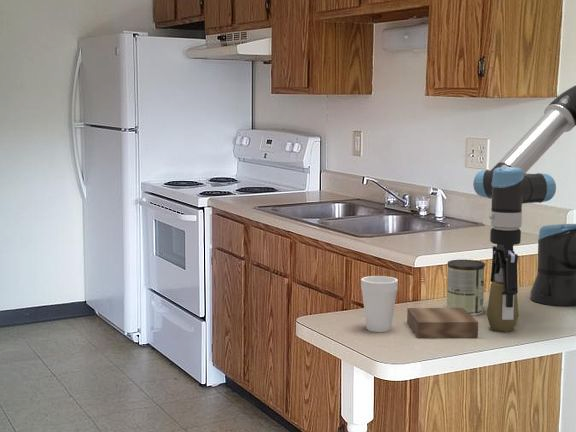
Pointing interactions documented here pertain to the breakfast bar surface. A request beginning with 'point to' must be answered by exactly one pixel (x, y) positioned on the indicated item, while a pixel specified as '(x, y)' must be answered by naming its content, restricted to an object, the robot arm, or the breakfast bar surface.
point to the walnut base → (442, 323)
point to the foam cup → (379, 301)
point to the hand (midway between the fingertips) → (502, 314)
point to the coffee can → (466, 285)
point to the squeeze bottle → (499, 306)
